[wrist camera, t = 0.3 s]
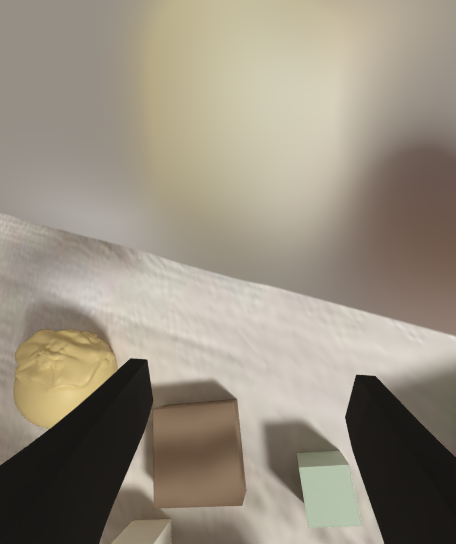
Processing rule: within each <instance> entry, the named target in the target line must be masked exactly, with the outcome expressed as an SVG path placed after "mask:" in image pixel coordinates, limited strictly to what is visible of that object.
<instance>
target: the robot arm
mask: <svg viewBox="0 0 456 544" xmlns="http://www.w3.org/2000/svg"><path fill="white" fill-rule="evenodd" d="M152 404H153V396H152V389H151V382H150V375H149V368H148V361H147V360H146V359H132V358H131V359H130V360H128V361H127V362H126V363H125V364H124V365H123V366H122V367H120V368H119V369H118V370H117V371H116V372H115V373H114V374H113V375H112V376H111V377H110V378H108V379H107V380H106V381H105V382H104V383H103V384H102V385H101V386H100V387H99V388H97V389H96V390H95V391H94V392H93V393H92V394H91V395H89V396H88V397H87V398H86V399H85V400H84V401H83V402H81V403H80V404H79V405H78V406H77V407H76V408H75V409H73V410H72V411H71V412H70V413H69V414H67V415H66V416H65V417H64V418H62V419H61V420H60V421H59V422H58V423H56V424H55V425H54V426H53V427H51V428H50V429H49V430H48V431H46V432H45V433H44V434H43V435H41V436H40V437H39V438H37V439H36V440H35V441H33V442H32V443H31V444H29V445H28V446H27V447H25V448H24V449H23V450H21V451H20V452H18V453H17V454H16V455H14V456H13V457H11V458H10V459H9V460H7V461H6V462H4V463H3V464H2V465H0V544H99V542H100V539H101V536H102V533H103V530H104V527H105V524H106V521H107V519H108V516H109V514H110V511H111V509H112V506H113V504H114V501H115V499H116V497H117V494H118V492H119V489H120V487H121V485H122V482H123V480H124V478H125V475H126V473H127V471H128V468H129V466H130V464H131V461H132V459H133V457H134V454H135V452H136V450H137V447H138V445H139V443H140V440H141V438H142V435H143V433H144V430H145V427H146V424H147V421H148V418H149V414H150V411H151V407H152ZM345 419H346V424H347V428H348V433H349V437H350V442H351V446H352V450H353V453H354V456H355V459H356V462H357V465H358V468H359V471H360V474H361V477H362V480H363V483H364V485H365V488H366V491H367V494H368V497H369V500H370V503H371V506H372V508H373V511H374V514H375V517H376V520H377V523H378V526H379V529H380V532H381V534H382V538H383V541H384V544H456V457H455V456H454V455H453V454H452V453H450V452H449V451H448V450H447V449H446V448H445V447H444V446H443V445H442V444H441V443H440V442H439V441H438V440H437V439H436V438H435V437H434V436H433V435H432V434H431V433H430V432H429V431H428V430H427V429H426V428H425V427H424V426H423V425H422V424H421V423H420V422H419V421H418V420H417V419H416V418H415V417H414V416H413V415H412V414H411V413H410V412H409V411H408V410H407V409H406V408H405V407H404V405H403V404H402V403H401V402H400V401H399V400H398V399H397V398H396V397H395V396H394V395H393V394H392V393H391V392H390V391H389V390H388V389H387V388H386V387H385V386H384V384H383V383H382V382H381V381H380V380H379V379H378V378H377V377H376V376H368V375H356V378H355V381H354V385H353V389H352V393H351V397H350V401H349V404H348V408H347V412H346V416H345Z"/></svg>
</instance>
